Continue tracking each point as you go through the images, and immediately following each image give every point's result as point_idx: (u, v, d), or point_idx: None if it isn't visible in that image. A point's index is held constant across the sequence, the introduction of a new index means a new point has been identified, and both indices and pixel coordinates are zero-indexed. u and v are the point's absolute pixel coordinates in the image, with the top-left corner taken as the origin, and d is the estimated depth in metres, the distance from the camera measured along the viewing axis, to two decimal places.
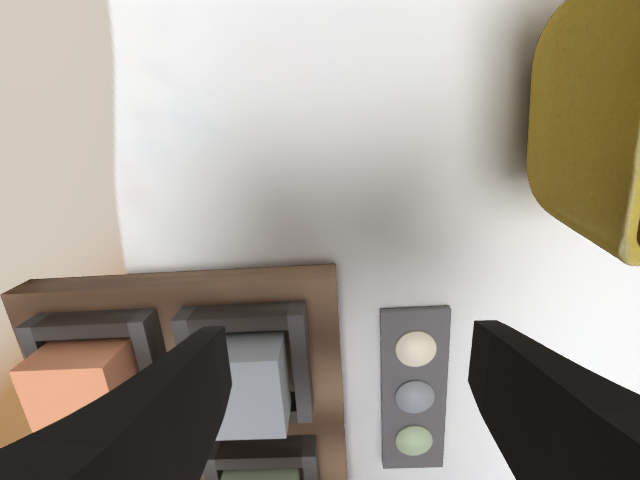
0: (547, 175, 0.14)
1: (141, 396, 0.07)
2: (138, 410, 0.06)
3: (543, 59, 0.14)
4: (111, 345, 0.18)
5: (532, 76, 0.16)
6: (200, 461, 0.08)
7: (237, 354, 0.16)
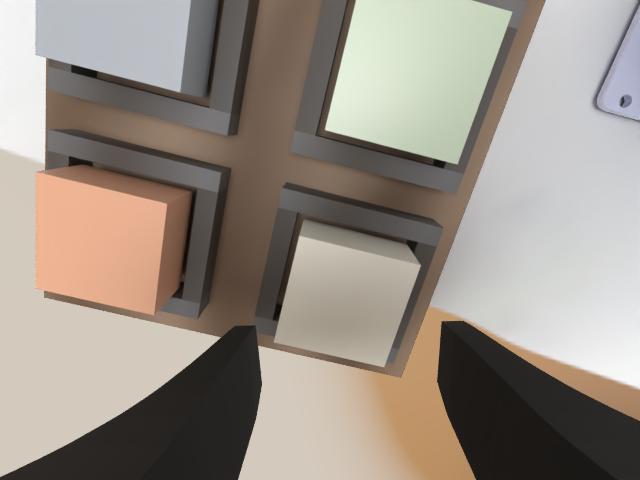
0: None
1: (190, 395, 0.07)
2: (190, 409, 0.06)
3: None
4: None
5: None
6: (238, 461, 0.08)
7: None
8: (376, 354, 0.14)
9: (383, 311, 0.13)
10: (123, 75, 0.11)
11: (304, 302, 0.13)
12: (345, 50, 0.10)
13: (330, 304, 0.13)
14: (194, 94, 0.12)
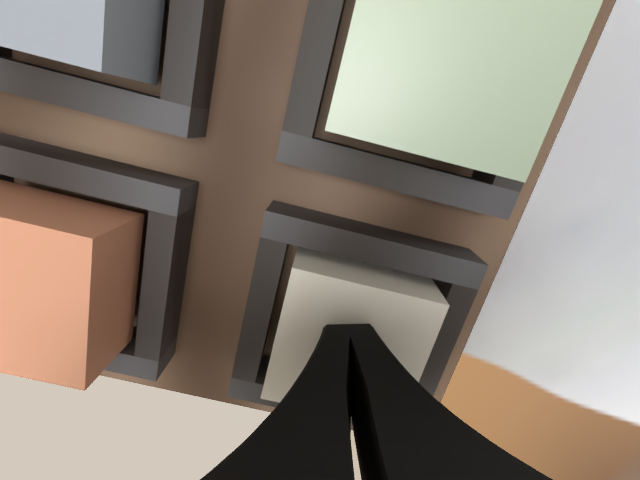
0: None
1: (331, 393, 0.06)
2: (342, 407, 0.06)
3: None
4: None
5: None
6: None
7: None
8: None
9: (400, 361, 0.10)
10: (12, 45, 0.07)
11: (299, 351, 0.10)
12: (357, 4, 0.07)
13: None
14: (133, 78, 0.08)
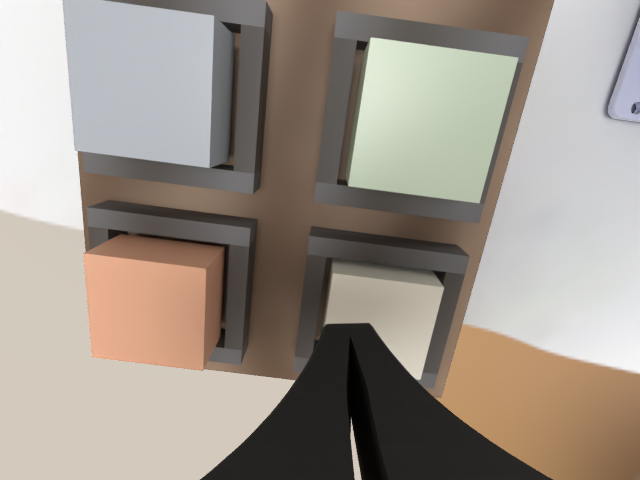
0: None
1: (331, 393, 0.06)
2: (342, 407, 0.06)
3: None
4: None
5: None
6: None
7: None
8: (412, 369, 0.15)
9: (414, 330, 0.15)
10: (155, 159, 0.12)
11: None
12: (360, 112, 0.11)
13: None
14: (220, 163, 0.13)
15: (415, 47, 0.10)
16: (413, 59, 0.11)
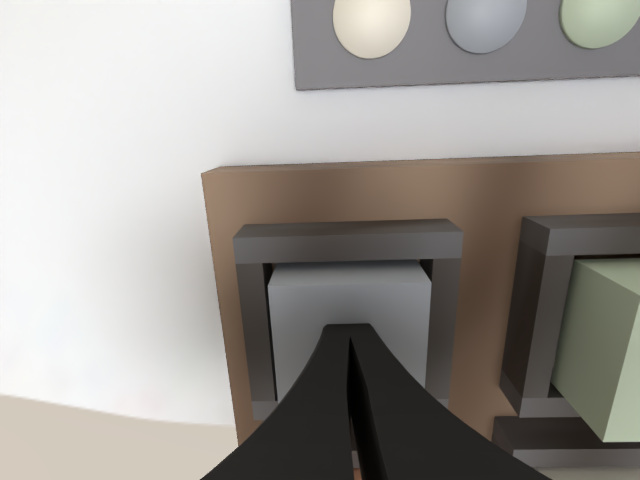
0: None
1: (331, 393, 0.06)
2: (342, 407, 0.06)
3: None
4: None
5: None
6: None
7: None
8: None
9: None
10: None
11: None
12: (623, 370, 0.09)
13: None
14: None
15: None
16: None
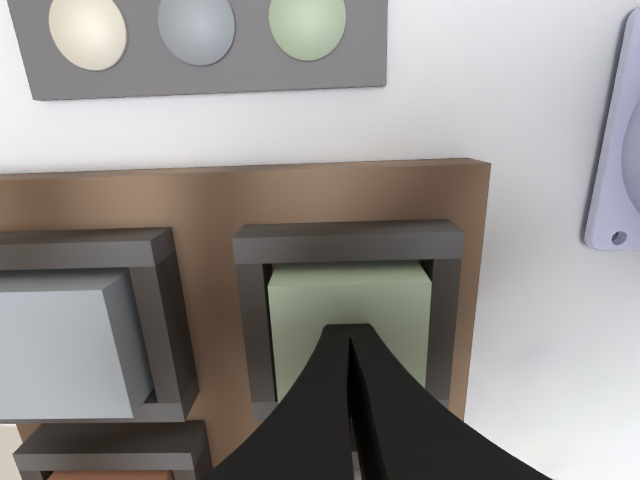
0: None
1: (331, 393, 0.06)
2: (342, 407, 0.06)
3: None
4: None
5: None
6: None
7: None
8: None
9: None
10: (78, 416, 0.11)
11: None
12: (275, 352, 0.10)
13: None
14: (151, 389, 0.12)
15: (317, 288, 0.10)
16: (317, 298, 0.10)
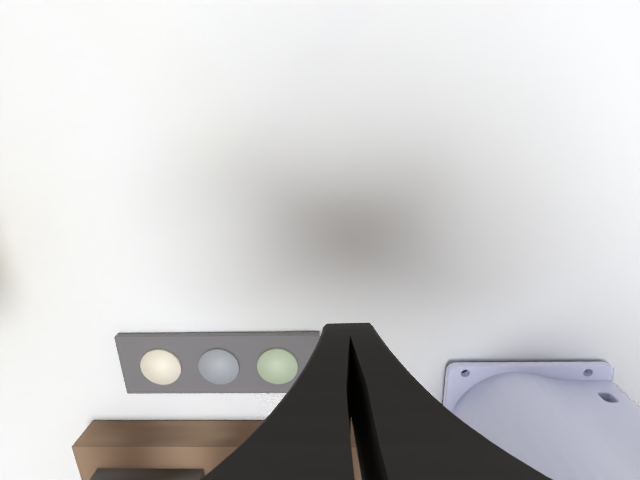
0: None
1: (331, 393, 0.06)
2: (342, 407, 0.06)
3: None
4: None
5: None
6: None
7: None
8: None
9: None
10: None
11: None
12: None
13: None
14: None
15: None
16: None
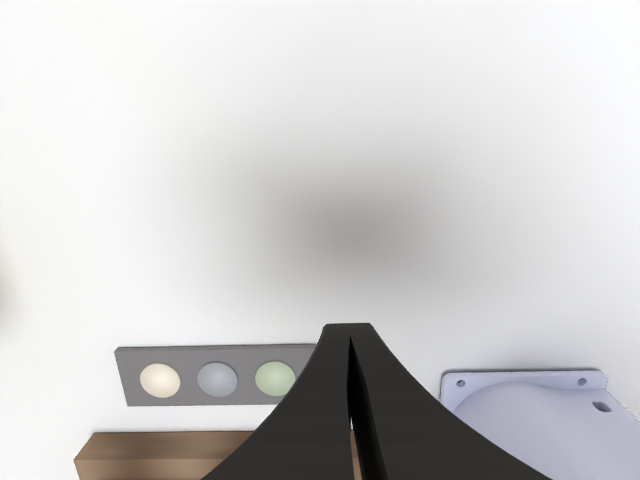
0: None
1: (331, 393, 0.06)
2: (342, 407, 0.06)
3: None
4: None
5: None
6: None
7: None
8: None
9: None
10: None
11: None
12: None
13: None
14: None
15: None
16: None
